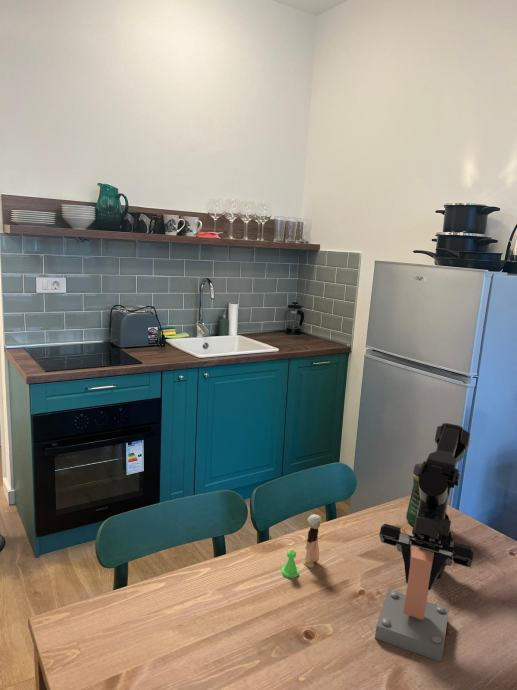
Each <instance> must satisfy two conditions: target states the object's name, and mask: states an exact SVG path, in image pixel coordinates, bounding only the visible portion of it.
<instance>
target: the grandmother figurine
mask: <svg viewBox="0 0 517 690" xmlns="http://www.w3.org/2000/svg"><path fill="white" fill-rule="evenodd" d="M306 520H307V522H308V524H309V527H310V528H309V530H308V533H307V539H306V545H305V550H306V553H305V559H304V562H303V564H304V566H306V567H308V568H310V569H312V568H313V569H314V567H315V563H317V562H319V560H320V548H319V539H318V538H319V537H318V536H319V528H320V526H321V521H322V517H321V516H320V515H318V514H310V516H309V517H308V518H307V519H306Z"/></svg>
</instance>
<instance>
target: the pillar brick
mask: <svg viewBox="0 0 517 690" xmlns="http://www.w3.org/2000/svg"><path fill="white" fill-rule="evenodd" d="M433 557H434V552H430V551H427V550H423V549H420V548H419V547H415V546H413V549H412V552H411V561H410V570H409V577H408V584H407V583H406V584H407V586H406V591H405V595H406V598H405V606H404V614H407V615H410V616H413V617H416V618H419V619H422V620H423V619H424V614H425V610H426V603H427V602H428V595H429V590H428V586H429V580H430V577H431V570H432V563H433Z"/></svg>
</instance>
